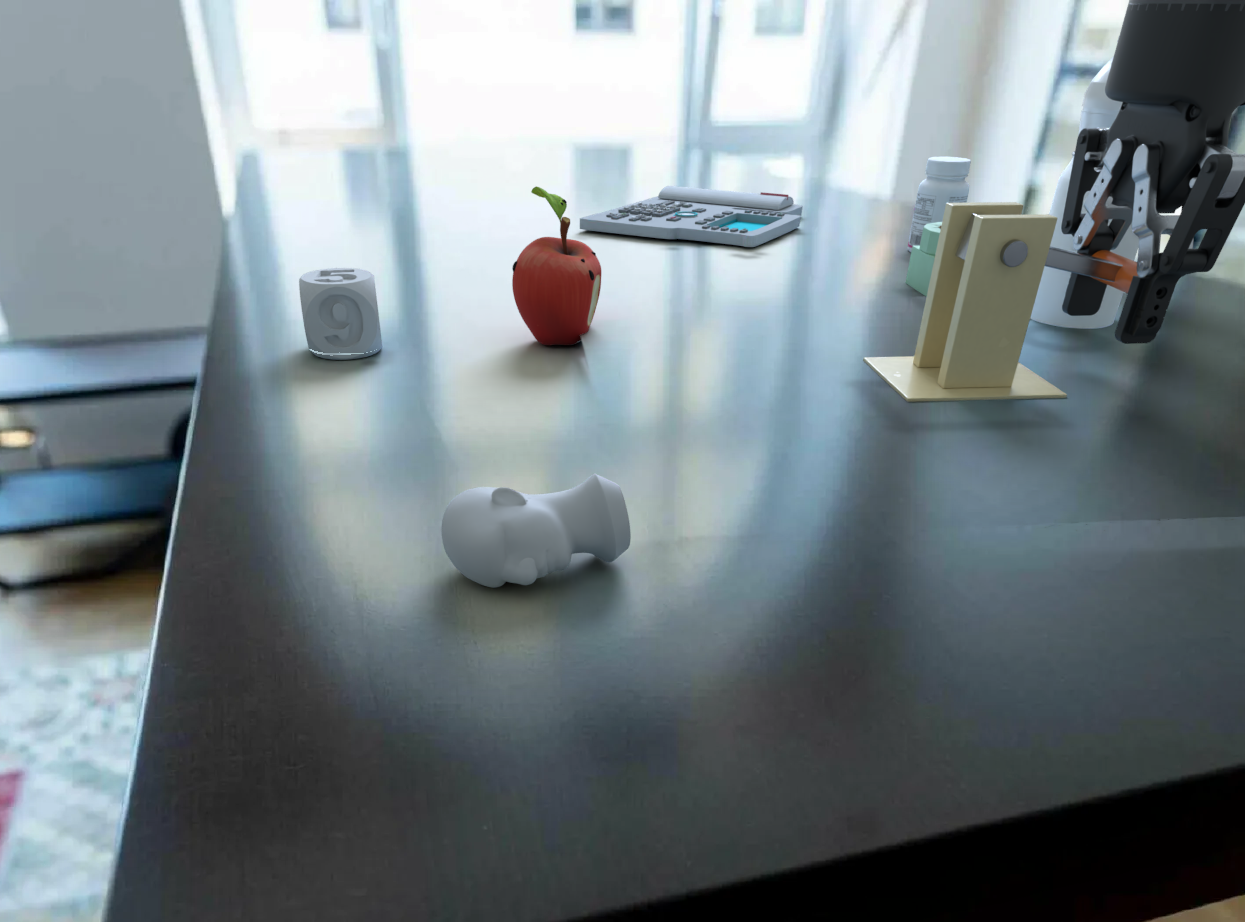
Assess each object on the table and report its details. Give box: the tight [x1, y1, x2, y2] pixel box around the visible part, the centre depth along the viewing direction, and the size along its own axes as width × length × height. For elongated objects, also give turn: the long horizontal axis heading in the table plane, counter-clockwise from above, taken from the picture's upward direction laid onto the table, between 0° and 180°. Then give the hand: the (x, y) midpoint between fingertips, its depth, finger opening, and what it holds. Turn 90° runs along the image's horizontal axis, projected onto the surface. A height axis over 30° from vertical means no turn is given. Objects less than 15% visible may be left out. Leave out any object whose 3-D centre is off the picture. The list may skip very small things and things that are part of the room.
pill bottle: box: [907, 156, 972, 253], centre depth 92 cm, size 5×5×8 cm
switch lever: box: [955, 213, 1138, 294], centre depth 55 cm, size 11×6×2 cm, turn 95°
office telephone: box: [579, 185, 803, 248], centre depth 105 cm, size 23×3×20 cm
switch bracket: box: [862, 201, 1068, 403], centre depth 57 cm, size 10×8×11 cm
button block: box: [905, 222, 942, 297], centre depth 80 cm, size 9×8×5 cm
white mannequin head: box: [441, 473, 632, 589], centre depth 39 cm, size 4×8×5 cm
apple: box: [511, 185, 602, 346], centre depth 66 cm, size 8×7×10 cm
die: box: [298, 267, 383, 361], centre depth 65 cm, size 5×5×5 cm
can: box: [1030, 150, 1139, 330], centre depth 68 cm, size 6×6×12 cm
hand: (1104, 326), depth 58 cm, fingers closed on switch lever, 5 cm apart
